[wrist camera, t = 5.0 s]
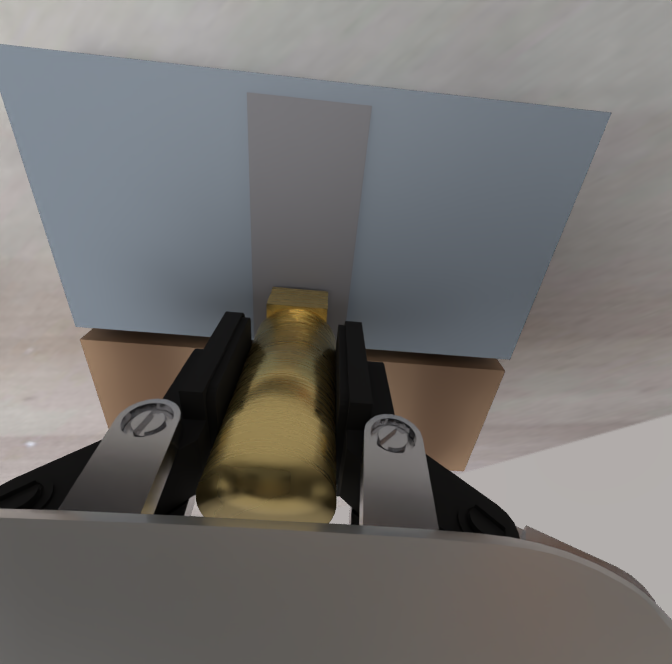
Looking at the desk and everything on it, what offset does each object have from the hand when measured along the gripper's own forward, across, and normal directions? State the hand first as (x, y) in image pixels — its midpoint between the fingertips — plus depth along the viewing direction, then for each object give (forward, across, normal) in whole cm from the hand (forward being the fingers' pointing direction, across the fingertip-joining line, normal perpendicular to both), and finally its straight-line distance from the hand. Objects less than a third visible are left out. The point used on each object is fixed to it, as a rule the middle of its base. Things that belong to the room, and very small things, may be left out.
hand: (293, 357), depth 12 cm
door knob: (+2, 0, +2) cm, 3 cm away
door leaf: (+7, 0, -3) cm, 8 cm away
